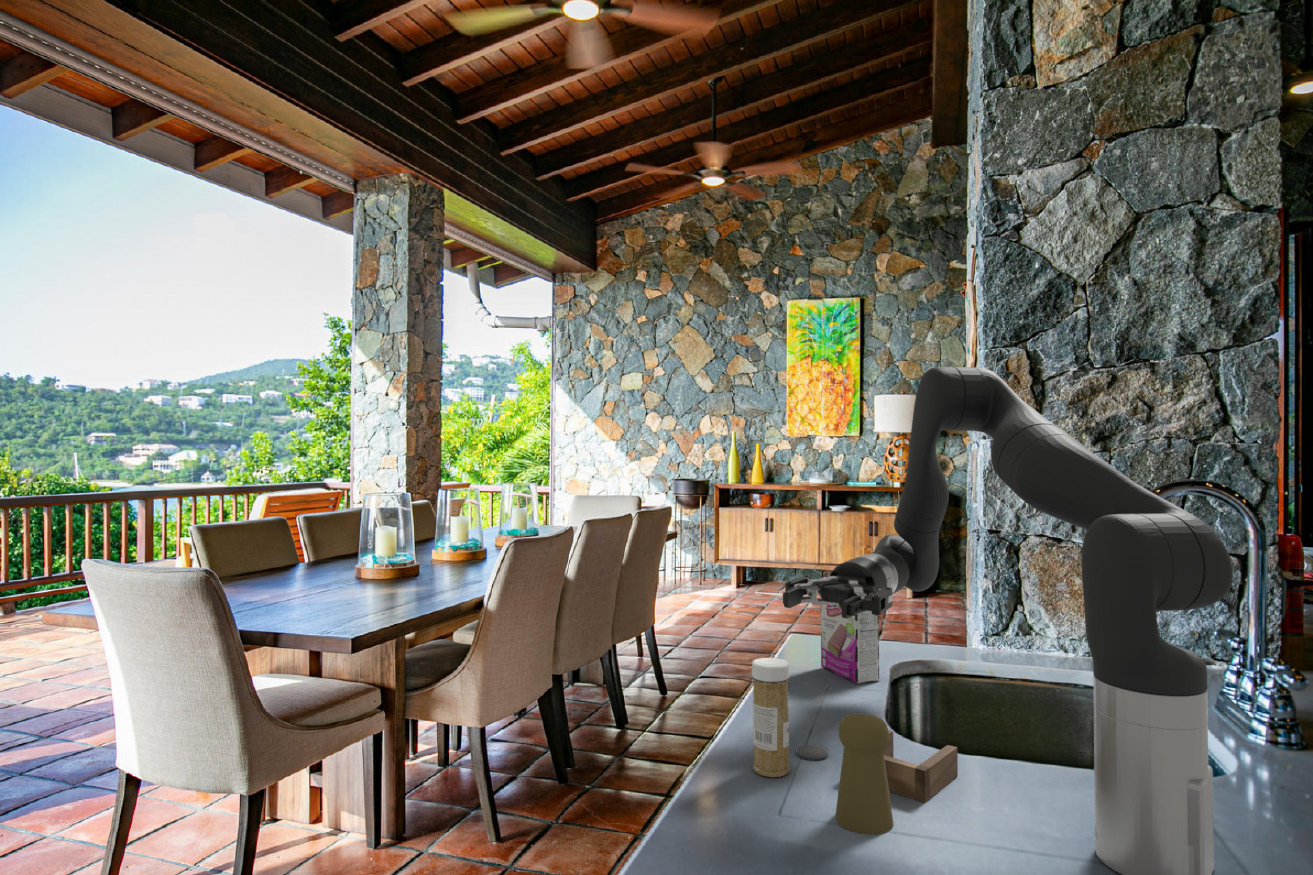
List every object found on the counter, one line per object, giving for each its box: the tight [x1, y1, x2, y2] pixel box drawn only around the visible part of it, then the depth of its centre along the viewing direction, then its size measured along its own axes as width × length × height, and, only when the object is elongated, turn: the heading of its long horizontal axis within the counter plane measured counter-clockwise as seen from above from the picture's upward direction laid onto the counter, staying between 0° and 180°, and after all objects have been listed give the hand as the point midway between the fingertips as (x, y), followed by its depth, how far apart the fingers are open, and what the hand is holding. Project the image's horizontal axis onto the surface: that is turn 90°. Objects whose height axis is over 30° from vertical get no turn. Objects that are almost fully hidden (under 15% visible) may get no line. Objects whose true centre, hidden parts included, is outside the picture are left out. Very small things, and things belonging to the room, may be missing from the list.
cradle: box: [883, 729, 959, 803], centre depth 94 cm, size 9×9×4 cm
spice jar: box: [751, 657, 791, 778], centre depth 96 cm, size 5×5×14 cm
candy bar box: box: [820, 577, 880, 685], centre depth 137 cm, size 11×5×16 cm, turn 22°
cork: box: [834, 712, 895, 836], centre depth 83 cm, size 6×6×11 cm
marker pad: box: [795, 744, 829, 761], centre depth 101 cm, size 4×4×1 cm
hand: (814, 605), depth 104 cm, fingers open, 8 cm apart
